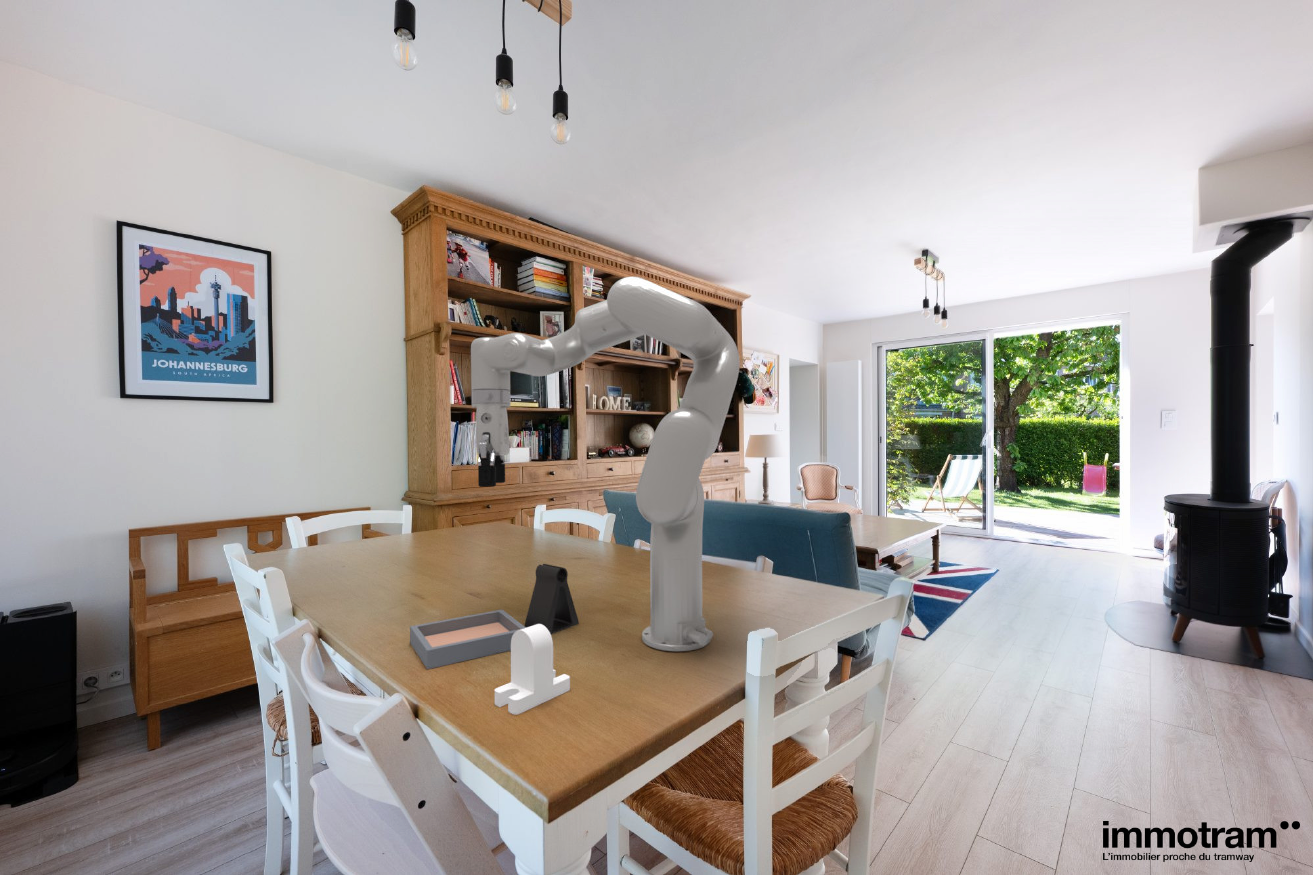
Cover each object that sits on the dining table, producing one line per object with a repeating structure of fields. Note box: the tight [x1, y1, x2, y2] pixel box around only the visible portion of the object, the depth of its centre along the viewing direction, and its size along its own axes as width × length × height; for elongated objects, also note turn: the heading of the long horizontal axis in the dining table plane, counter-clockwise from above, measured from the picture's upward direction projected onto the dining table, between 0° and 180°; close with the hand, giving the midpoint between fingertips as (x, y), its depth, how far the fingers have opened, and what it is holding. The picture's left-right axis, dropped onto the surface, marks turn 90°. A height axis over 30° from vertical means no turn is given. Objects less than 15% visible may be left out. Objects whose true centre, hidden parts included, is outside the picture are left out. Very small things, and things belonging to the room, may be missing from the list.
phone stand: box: [523, 563, 580, 635], centre depth 108 cm, size 9×6×12 cm, turn 142°
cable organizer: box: [494, 624, 571, 716], centre depth 79 cm, size 5×10×10 cm, turn 140°
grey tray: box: [409, 609, 526, 670], centre depth 99 cm, size 14×17×3 cm
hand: (492, 484), depth 111 cm, fingers open, 9 cm apart
